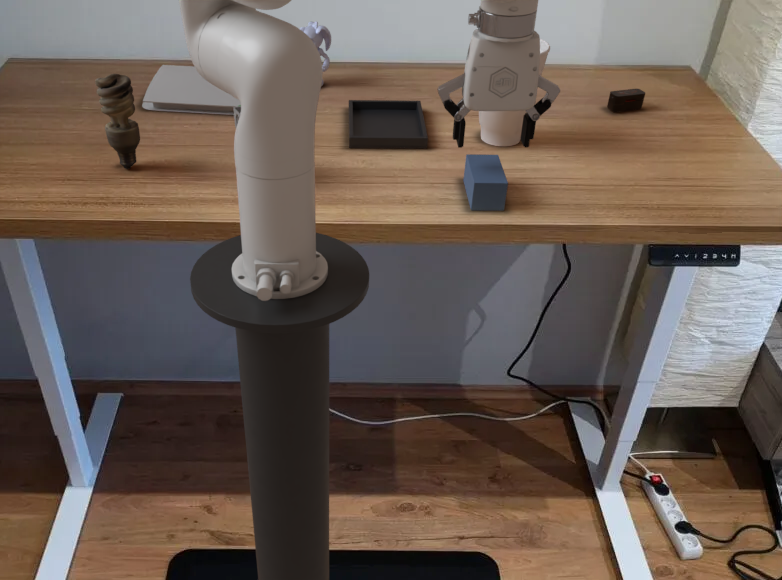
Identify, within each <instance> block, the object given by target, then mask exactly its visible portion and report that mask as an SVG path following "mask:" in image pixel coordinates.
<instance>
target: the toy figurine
mask: <svg viewBox="0 0 782 580" xmlns="http://www.w3.org/2000/svg"><path fill="white" fill-rule="evenodd" d="M298 28H299V29H300V30H301V31H303V32H304V33H305V34H306V35H307V36H308V37H309V38H310V39H311V40H312V41H313V43H314V44H315V46H316V47H317V49H318V51H319V54H320V57H322V58H323V59H324V61H323V63H322V71H323V73H325V72H327V71H328V70H329V67H330V63H331V60H330V57H329V56H328V54H327V53H325V52H328V51H329V50H330V48H331V44H332V33H331V31H330V30H329V28H328V27H326V26H325V25H323V24H320V25H319V22H318V21H317V20H315V21H308V23H307V26H300V27H298ZM323 40H324V44H325V45H324V47H325V51H324V48H322V47H320V46H321V45H322V44H323ZM323 86H324V79H323V78H322V84H321V87H323Z"/></svg>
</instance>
